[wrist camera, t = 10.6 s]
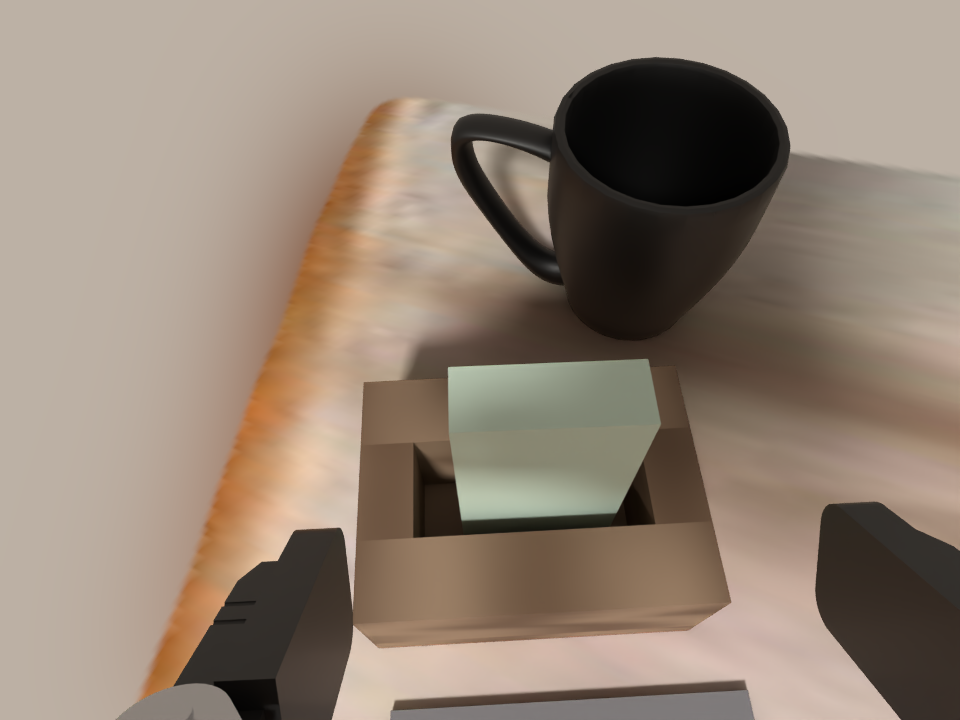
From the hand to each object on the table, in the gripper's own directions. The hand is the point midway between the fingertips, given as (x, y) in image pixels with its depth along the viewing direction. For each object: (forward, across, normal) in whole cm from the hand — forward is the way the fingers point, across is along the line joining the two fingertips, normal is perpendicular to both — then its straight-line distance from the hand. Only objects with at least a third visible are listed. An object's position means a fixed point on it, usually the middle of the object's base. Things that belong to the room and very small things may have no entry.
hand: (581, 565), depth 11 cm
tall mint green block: (+12, 0, +6) cm, 14 cm away
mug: (+22, -4, -2) cm, 22 cm away
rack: (+13, 0, +6) cm, 15 cm away
